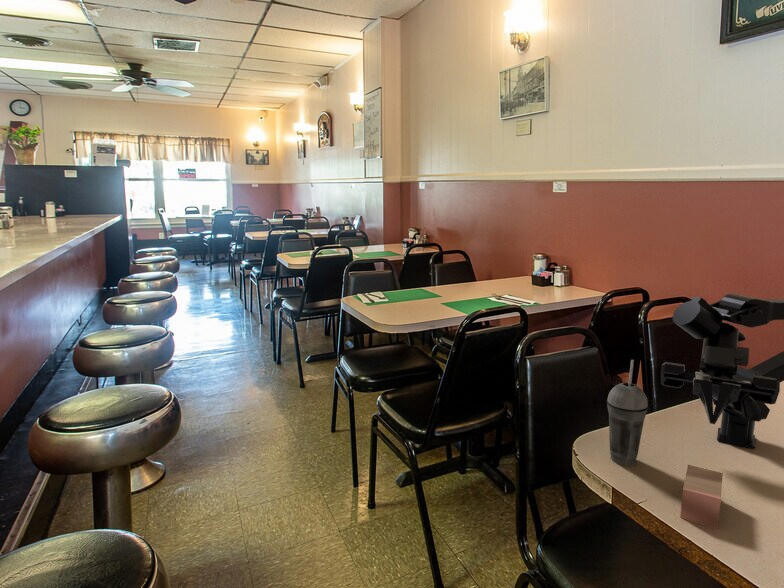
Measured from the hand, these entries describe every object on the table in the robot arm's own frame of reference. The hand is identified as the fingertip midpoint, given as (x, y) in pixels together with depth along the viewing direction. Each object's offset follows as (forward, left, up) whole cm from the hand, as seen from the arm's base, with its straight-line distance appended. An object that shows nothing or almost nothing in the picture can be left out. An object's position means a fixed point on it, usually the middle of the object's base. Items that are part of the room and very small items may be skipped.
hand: (712, 423), depth 91 cm
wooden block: (+10, 0, -7) cm, 12 cm away
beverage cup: (+5, -14, -9) cm, 17 cm away
